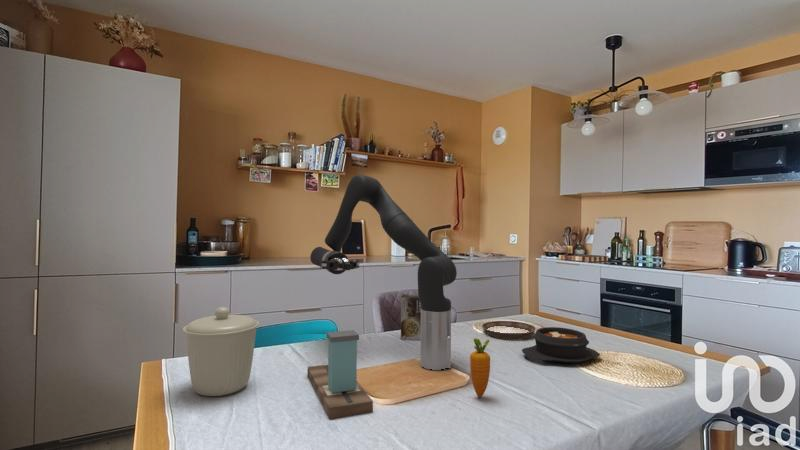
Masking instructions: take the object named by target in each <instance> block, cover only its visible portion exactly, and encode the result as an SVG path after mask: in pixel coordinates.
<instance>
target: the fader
mask: <svg viewBox="0 0 800 450" xmlns="http://www.w3.org/2000/svg"><path fill="white" fill-rule="evenodd" d="M326 338H327V340H328V347H327V348H328V349H327V350H328V353H327V354H328V356H327V358H328V364H327V365H328V388H329V389H330V391H331V393H336V392H343V391H349V390H356V381H357V382H358V380H357V375H358V373H357V371H358V369H357V366H358V363H357V362H358V361H357V360H358V359H357V357H358V356H357V354H358V352H357V351H358V348H357V347H358V344H357V343H358V341H359V340H360V334H358V332H356V330H354V329H350V330H340V331H339V330H338V331H330V332H329V331H328V332H326Z"/></svg>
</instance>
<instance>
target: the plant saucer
mask: <svg viewBox="0 0 800 450" xmlns="http://www.w3.org/2000/svg"><path fill="white" fill-rule="evenodd" d="M494 326H506V327H514V328H520V329H525V330H528V331H529V332H527V333H500V332H494V331H490V330H487V329H488V328H490V327H494ZM481 328H482V330H483V331H484V332H485V334H487V335H488V334H489V335H488V336H491V337H493V338H496V339H502V340H517V341H518V340H525V339H528V338H529V337H531V336H532V335H534V332H536V331H537V328H536V327H535V326H534V325H532V324H529V323H526V322H522V321H521V322H520V321H512V320H496V321H495V320H494V321H486V322H484V323H482V325H481ZM527 337H528V338H527ZM524 338H525V339H524Z"/></svg>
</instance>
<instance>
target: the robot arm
mask: <svg viewBox="0 0 800 450" xmlns="http://www.w3.org/2000/svg"><path fill="white" fill-rule="evenodd" d="M360 202H363V203H367V204H369V205H370V206H371V207H372V208H373V209H374V210H375V211H376V212H377V214H378V215H379V218H380V223H381V226H382V228H383V230H384V232H385V233H386V234H387V235H388V237H389V238H390V239H391V240H392V241H393V242H394V243H395V244H396V245H397V246H399V247H400V248H402V249H403V250H405V251H407V252H409V253H411V254H412V255H413V256H415V257H416V258H418V260H420V263H419V265H418V268H417V295H418V297H419V300H420V303H421V340H420V349H419V351H420V356H419V360H420V362H419V363H420V367H422V368H423V367H424V369H426V370H430V369H432V370H431V371H442V370H441V369H444V370H446V369H445V368H451V369H452V367H451V364H452V363H451V362H452V360H451V359H452V302H451V300H450V299H449V298H447V297H446V296H445V295H444V292H445V291H444V287H445V286H448V285H450V284H452V283H454V282H455V280H456V279H457V275H458V273H457V272H458V271H457V267H456V266H455V265H456V264H455V263H454V261H453V260H452V258H450V257H449V256H448V255H447V254H446V253H445V252H443V251H442V250H441V249H440V248H439V247H437V245H436V244H434V243H433V242H432V241H431V240H430V239H429V238H428V236H427V235H426V234H425V233H424V231H422V230H421V229H420V228H419V227H418V226H417V224H416V223H415V222H414V221H413V219H412V218H411V217H410V216H409V215H408V214H407V213H406V212H405V211H404V210H403V209H402V208H401V207H400V206H399V205H398V204H397V203H396V202H395V201H394V200H393V199H392V197H391V196H390V195H389V194H388V191H386V189H385V188H384V187H383V185H382V184H381V182H380V181H379V180H378V179H376V178H374V177H371V176H367V175H364V174H356V175H354V176H353V177H352V178H351V179H350V181H349V182H348V184H347V187H346V190H345V192H344V195H343V198H342V200H341V203H340V206H339V209H338V212H337V214H336V218H335V219H334V222H333V224H332V225H331V227H330V229H329V231H328V233H327V234H326V236H325V238H324V243H325V244H326V246H328V247H329V248H330V249H331V250H330V249H328V248H324V247H323V246H316V247H315V248H313V250H312V251H311V253H310V256H309V257H310V258H309V259H310V262H311V264H313V265H315V266H317V267H320V268H321V269H322V270H325V271H327V272H329V273H331V274H333V275H341V274H344V273H345V272H346V271H350V270H355V269H359V268H360V259H355V260H351V259H349V258H348V257H347V255H346V254H345V253H343V252H342V248H343V246H344V244H345V243H346V240H347V239H348V237H349V235H350V234H351V230H352V224H353V213H354V210H355V208H356V207H357V205H358V203H360Z"/></svg>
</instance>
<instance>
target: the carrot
mask: <svg viewBox="0 0 800 450" xmlns="http://www.w3.org/2000/svg"><path fill="white" fill-rule="evenodd" d="M473 342H474V345H475V346H473V347H474V348H473V349H475V350H474V351H473V352H471V353H470V355H469V365H470V367H469V368H470V377H471V383H472V385H473V386H472V387H473V390H474V392H475V393H476V396H477V398H479V399H481V398H482V397H483V396H484V394H485V392H486V390H487V388H488V384H489V379H490V371H491V356H490V355H489V353H488V352H487V351H485V349H486V348H487V345H489V342H490V339H488V338H487V339H486V340H485V341H484V343H483V345H482V342H481V340H480V338H477V337H474V338H473Z"/></svg>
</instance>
